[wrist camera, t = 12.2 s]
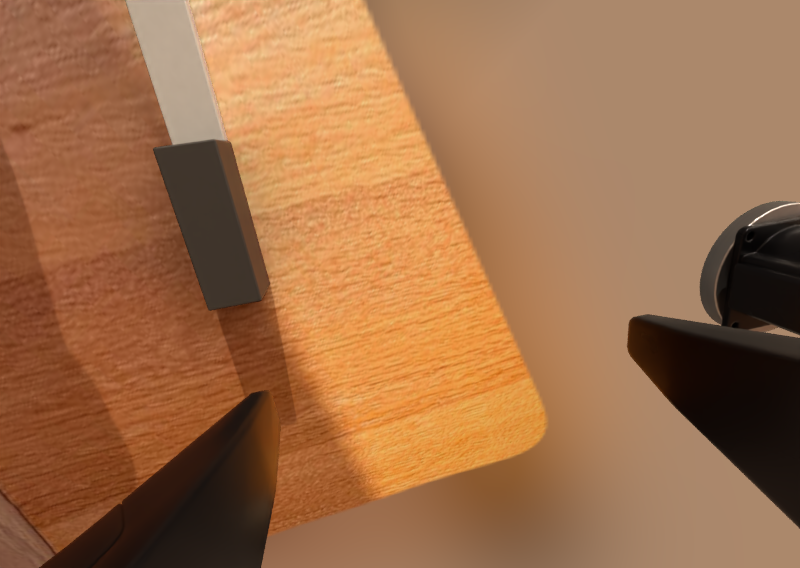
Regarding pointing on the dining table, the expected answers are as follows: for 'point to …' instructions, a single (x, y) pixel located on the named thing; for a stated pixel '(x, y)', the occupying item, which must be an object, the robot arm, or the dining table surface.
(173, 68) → the two-tone stick
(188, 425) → the dining table surface
